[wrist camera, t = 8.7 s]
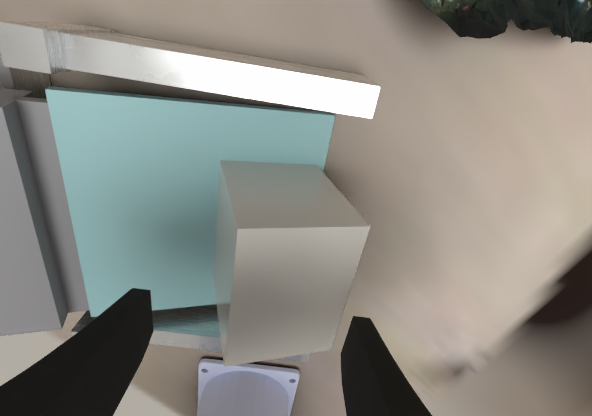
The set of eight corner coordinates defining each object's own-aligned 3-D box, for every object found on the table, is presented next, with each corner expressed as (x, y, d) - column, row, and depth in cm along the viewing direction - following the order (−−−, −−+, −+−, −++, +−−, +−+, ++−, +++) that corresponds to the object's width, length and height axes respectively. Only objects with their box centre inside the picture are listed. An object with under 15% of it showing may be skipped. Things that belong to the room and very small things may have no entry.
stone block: (294, 268, 20) (330, 350, 15) (213, 273, 19) (224, 366, 14) (316, 164, 17) (370, 226, 12) (220, 160, 15) (237, 228, 11)
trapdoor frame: (306, 313, 23) (307, 375, 19) (66, 282, 22) (10, 341, 18) (363, 72, 16) (386, 87, 11) (1, 10, 15) (-121, 1, 10)
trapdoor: (290, 278, 23) (302, 307, 21) (-32, 305, 17) (-65, 350, 15) (322, 107, 17) (344, 121, 15) (-140, 61, 12) (-220, 73, 9)
